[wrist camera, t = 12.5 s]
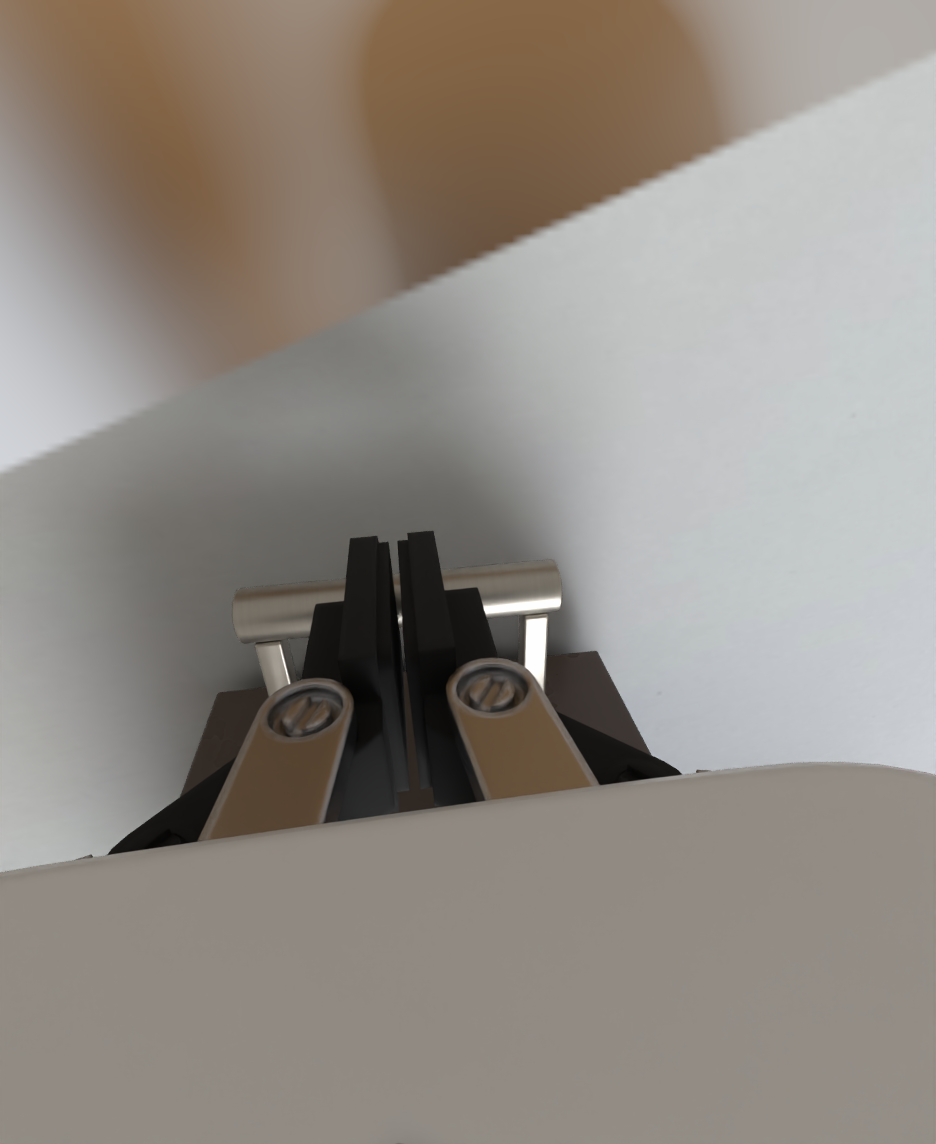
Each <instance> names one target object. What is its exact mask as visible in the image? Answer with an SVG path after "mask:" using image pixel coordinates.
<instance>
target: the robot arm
mask: <svg viewBox="0 0 936 1144" xmlns="http://www.w3.org/2000/svg"><path fill="white" fill-rule="evenodd" d="M407 535H408V540H402V541H398V557H399V573H400V590H401V607H402V624H403V641H404V653H405V664H406V673H407V681H408V689H409V698H410V706H411V714H412V723H413V731H414V740H415V748H416V756H417V765H418V773H419V781H420V789H424V788H431V787H432V788H433V797H434V805H435V807H436V806H440V807H438V808H431V809H424V810H417V811H410V812H402V813H395V814H389V813H393V812H399V795H398V792H402V791H409V790H410V783H409V765H408V747H407V729H406V710H405V692H404V674H403V658H402V648H401V640H400V632H399V623H398V615H397V607H396V599H395V591H394V582H393V574H392V566H391V558H390V550H389V543H388V542H381V543H379V542H378V537H377V536H371V537H360V538H350V545H349V555H348V565H347V574H346V584H345V594H344V601H338V602H328V603H319V604H316V605H315V608H314V613H313V618H312V624H311V630H310V635H309V641H308V646H307V652H306V657H305V663H304V668H303V674H302V679H301V680H300V681H297V682H294V683H291V684H288V685H286V686H284V687H283V688H281V689H279V690H277V691H275V692H274V693H273V694H272V695H271V696H270V697H268V698H267V699H266V700H265V702H264V703H263V704H262V706H261V707H260V709H259V710H258V712H257V715H256V717H255V719H254V721H253V723H252V725H251V727H250V730H249V732H248V734H247V736H246V738H245V740H244V742H243V745H242V747H241V749H240V751H239V753H238V755H237V756H236V757H235V758H233V759H232V760H231V761H229V762H228V763H227V764H225V765H224V766H222V767H221V768H220V769H218V770H217V771H216V772H214V773H213V774H211V775H210V776H209V777H207V778H206V779H204V780H203V781H202V782H200V783H199V784H198V785H196V786H195V787H193V788H192V789H191V790H189V791H188V792H187V793H185V794H184V795H182V796H181V797H180V798H178V799H177V800H175V801H174V802H173V803H171V804H170V805H169V806H167V807H166V808H164V809H163V810H162V811H160V812H159V813H158V814H156V815H155V816H153V817H152V818H151V819H149V820H148V821H146V822H145V823H144V824H142V825H141V826H140V827H138V828H137V829H135V830H134V831H133V832H131V833H130V834H128V835H127V836H126V837H125V838H124V839H123V840H121V841H120V842H119V843H118V844H117V845H116V846H115V847H113V848H112V849H111V851H110V852H109V853H108V854H107V855H105V856H98V857H93V856H92V855H88V856H85V857H82V858H79V859H76V860H72V861H66V862H59V863H52V864H46V865H39V866H33V867H28V868H22V869H17V870H11V871H5V872H0V1144H936V775H934V774H930V773H926V772H921V771H915V770H909V769H903V768H898V767H892V766H886V765H879V764H865V763H850V762H803V763H786V764H776V765H766V766H755V767H745V768H734V769H724V770H715V771H709V770H697V771H696V773H693V774H685V775H682V774H681V773H680V772H679V771H678V770H677V769H676V768H674V767H672V766H671V765H669V764H667V763H666V762H664V761H662V760H660V759H658V758H656V757H653V756H651V755H649V754H647V753H645V752H643V751H641V750H638V749H636V748H634V747H632V746H630V745H628V744H626V743H623V742H621V741H619V740H617V739H615V738H613V737H611V736H608V735H606V734H604V733H602V732H600V731H598V730H596V729H593V728H591V727H589V726H587V725H585V724H583V723H581V722H578V721H576V720H574V719H572V718H570V717H568V716H566V715H563V714H561V713H559V712H557V711H555V709H554V708H553V706H552V704H551V703H550V701H549V699H548V698H547V696H546V694H545V693H544V691H543V689H542V688H541V686H540V684H539V683H538V681H537V679H536V678H535V676H534V675H533V674H532V673H531V672H530V671H529V670H528V669H527V668H526V667H524V666H522V665H521V664H519V663H517V662H514V661H511V660H507V659H501V658H498V656H497V652H496V649H495V645H494V642H493V638H492V635H491V631H490V628H489V624H488V621H487V617H486V614H485V610H484V607H483V603H482V600H481V596H480V593H479V590H478V588H477V587H473V588H463V589H453V590H444V584H443V579H442V574H441V568H440V563H439V558H438V552H437V547H436V542H435V536H434V531H424V532H413V533H407Z"/></svg>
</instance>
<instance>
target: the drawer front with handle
mask: <svg viewBox="0 0 936 1144" xmlns="http://www.w3.org/2000/svg"><path fill="white" fill-rule="evenodd" d="M441 574H442V579H443V584H444V590H453V589H463V588H473V587H477V588H478V590H479V593H480V596H481V600H482V603H483V607H484V610H485V614H486V617H487V619H488V618H498V617H507V616H517V615H519V638H518V659H517V660H511V661H514V662H517V663H519V664H521V665H522V666H524V667H526V668H527V669H528V670H529V671H530V672H531V673H532V674H533V675H534V676H535V678H536V679H537V681H538V683H539V684H540V686H541V688H542V689H543V691H544V693H545V694H546V696H547V698H548V699H549V701H550V703H551V704H552V706H553V708H554V709H555V711H557V712H559V713H561V714H563V715H566V716H568V717H570V718H572V719H574V720H576V721H578V722H581V723H583V724H585V725H587V726H589V727H591V728H593V729H596V730H598V731H600V732H602V733H604V734H606V735H608V736H611V737H613V738H615V739H617V740H619V741H621V742H623V743H626V744H628V745H630V746H632V747H634V748H636V749H638V750H641V751H643V752H645V753H647V754H649V755H651V753H650V752H649V750H648V748H647V746H646V744H645V742H644V740H643V738H642V736H641V734H640V732H639V731H638V729H637V727H636V725H635V723H634V721H633V719H632V717H631V715H630V713H629V711H628V710H627V708H626V706H625V704H624V702H623V700H622V698H621V696H620V694H619V692H618V690H617V689H616V687H615V685H614V683H613V681H612V679H611V677H610V675H609V673H608V671H607V669H606V667H605V666H604V664H603V662H602V660H601V658H600V656H599V654H598V652H597V651H590V652H581V653H572V654H563V655H553V656H547V638H548V613H547V612H556V611H558V610H559V609H560V608H561V604H562V582H561V576H560V572H559V568H558V566H557V564H556V562H555V561H554V560H552V559H547V560H536V561H526V562H515V563H504V564H494V565H483V566H472V567H462V568H451V569H441ZM393 582H394V591H395V599H396V607H397V615H398V623H399V628H401V627H403V624H402V607H401V590H400V573H398V574H393ZM345 584H346V578H344V579H334V580H323V581H312V582H302V583H291V584H280V585H270V586H259V587H248V588H240V589H238V590H236V592H235V594H234V597H233V603H232V618H233V625H234V629H235V633H236V635H237V638H238V639H239V641H240V642H241V643H255V642H256V643H255V649H256V652H257V656H258V659H259V663H260V667H261V670H262V674H263V677H264V681H265V684H266V687H263V688H254V689H245V690H236V691H227V692H219V693H218V694H217V696H216V699H215V702H214V705H213V707H212V710H211V713H210V716H209V718H208V721H207V724H206V727H205V729H204V732H203V735H202V738H201V740H200V743H199V746H198V749H197V751H196V754H195V757H194V760H193V762H192V765H191V768H190V771H189V773H188V776H187V779H186V782H185V785H184V787H183V790H182V793H181V796H182V795H184V794H185V793H187V792H188V791H189V790H191V789H192V788H193V787H195V786H196V785H198V784H199V783H200V782H202V781H203V780H204V779H206V778H207V777H209V776H210V775H211V774H213V773H214V772H216V771H217V770H218V769H220V768H221V767H222V766H224V765H225V764H227V763H228V762H229V761H231V760H232V759H233V758H235V757H236V756H237V755H238V753H239V751H240V749H241V747H242V745H243V742H244V740H245V738H246V736H247V734H248V732H249V730H250V727H251V725H252V723H253V721H254V719H255V717H256V715H257V712H258V710H259V709H260V707H261V706H262V704H263V703H264V702H265V700H266V699H267V698H268V697H270V696H271V695H272V694H273V693H274V692H275V691H277V690H279V689H281V688H283V687H284V686H286V685H288V684H291V683H294V682H297V681H298V680H297V676H296V672H295V668H294V664H293V659H292V655H291V651H290V647H289V643H288V639H294V638H303V637H309V635H310V630H311V624H312V618H313V613H314V608H315V605H316V604H319V603H328V602H338V601H344V594H345ZM403 674H404V692H405V710H406V729H407V747H408V765H409V783H410V790H409V791H402V792H398V795H399V812H393V813H389V814H395V813H402V812H410V811H417V810H424V809H431V808H438V807H440V806H436V807H435V805H434V797H433V788H432V787H431V788H424V789H420V781H419V773H418V765H417V756H416V748H415V740H414V731H413V723H412V714H411V706H410V698H409V689H408V681H407V673H406V672H403ZM651 756H652V755H651ZM181 796H180V797H181Z"/></svg>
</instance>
